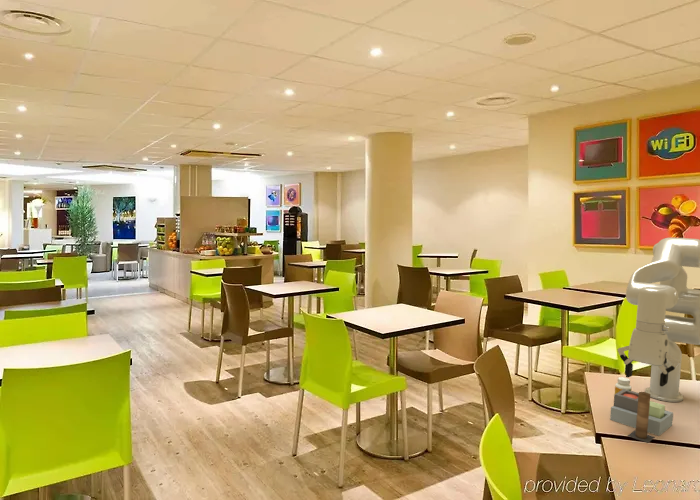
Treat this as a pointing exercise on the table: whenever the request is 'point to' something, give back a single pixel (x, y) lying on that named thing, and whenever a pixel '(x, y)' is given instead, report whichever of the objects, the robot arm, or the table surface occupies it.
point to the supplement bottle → (622, 384)
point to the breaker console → (627, 413)
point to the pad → (640, 438)
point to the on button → (656, 410)
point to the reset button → (631, 396)
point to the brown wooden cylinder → (642, 415)
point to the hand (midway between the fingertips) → (645, 380)
